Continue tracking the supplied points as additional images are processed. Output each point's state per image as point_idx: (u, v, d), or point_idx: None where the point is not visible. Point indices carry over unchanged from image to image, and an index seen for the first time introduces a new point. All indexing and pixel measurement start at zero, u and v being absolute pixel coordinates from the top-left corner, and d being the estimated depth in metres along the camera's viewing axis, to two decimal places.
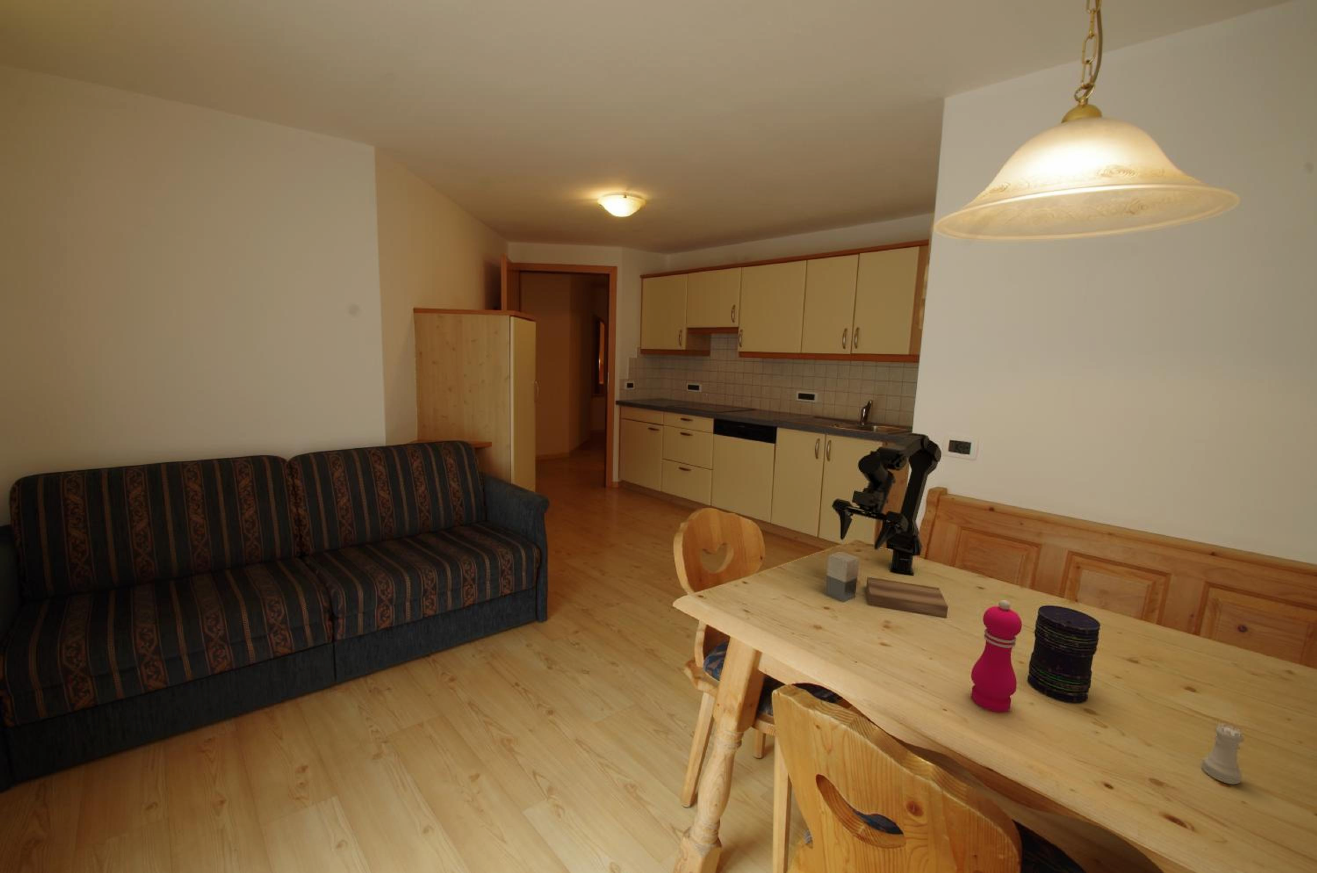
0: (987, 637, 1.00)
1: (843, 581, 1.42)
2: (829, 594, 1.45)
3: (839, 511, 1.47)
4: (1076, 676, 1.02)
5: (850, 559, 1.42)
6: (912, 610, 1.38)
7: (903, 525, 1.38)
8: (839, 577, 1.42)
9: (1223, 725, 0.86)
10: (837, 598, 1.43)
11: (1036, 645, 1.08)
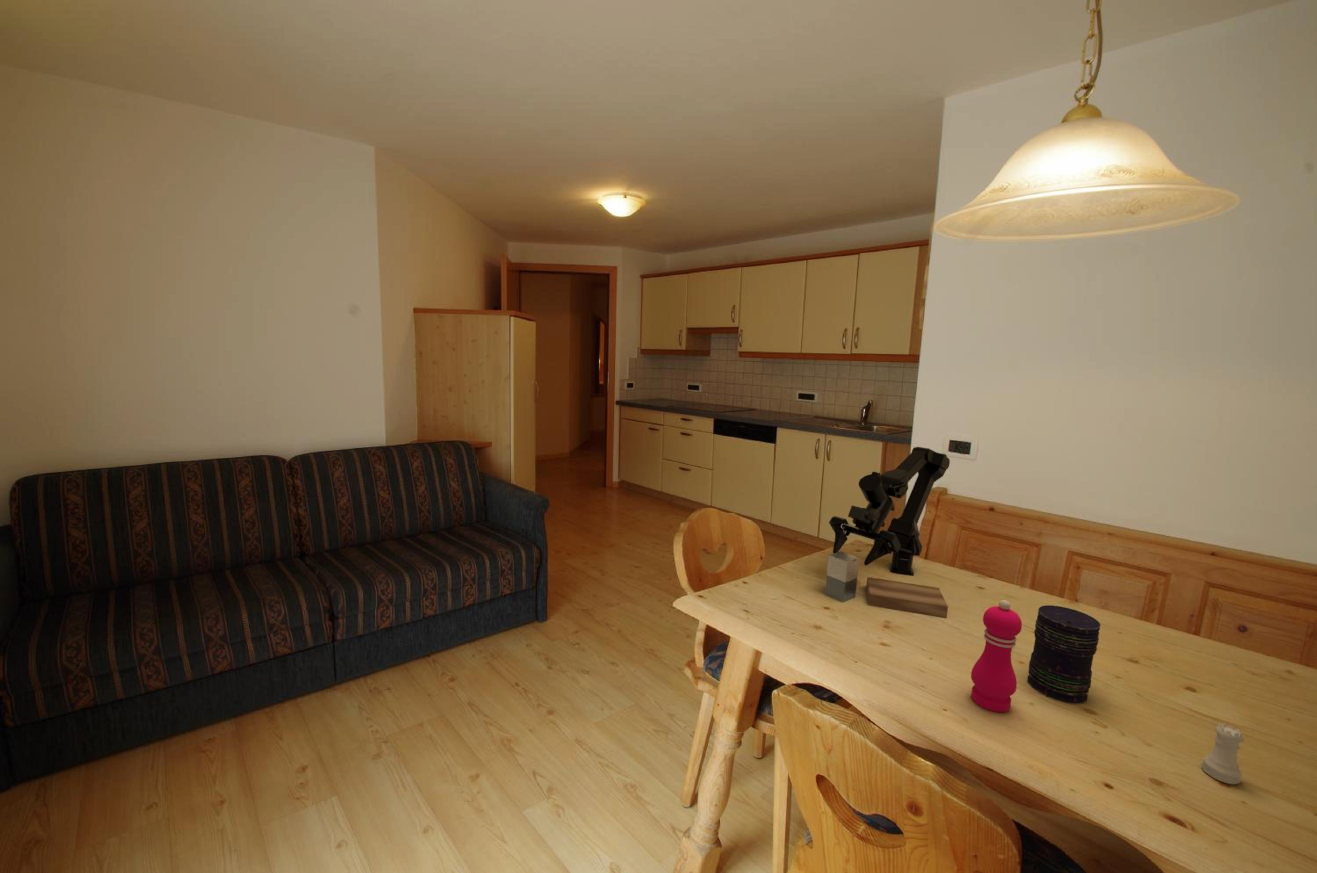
0: (987, 637, 1.00)
1: (843, 581, 1.42)
2: (829, 594, 1.45)
3: (835, 527, 1.52)
4: (1076, 676, 1.02)
5: (850, 559, 1.42)
6: (912, 610, 1.38)
7: (895, 545, 1.41)
8: (839, 577, 1.42)
9: (1223, 725, 0.86)
10: (837, 598, 1.43)
11: (1036, 645, 1.08)
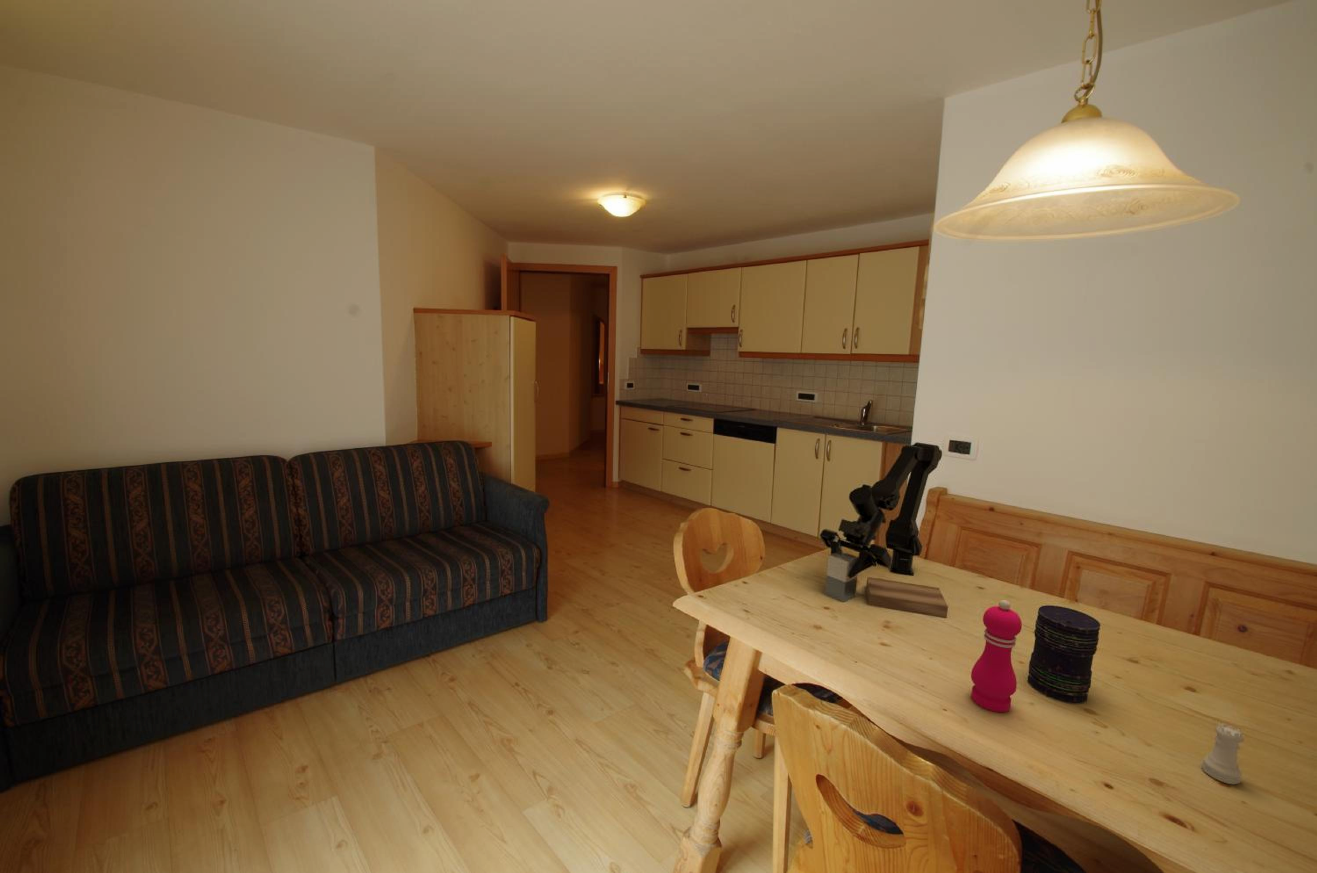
0: (987, 637, 1.00)
1: (843, 581, 1.42)
2: (829, 594, 1.45)
3: (831, 542, 1.48)
4: (1076, 676, 1.02)
5: (850, 559, 1.42)
6: (912, 610, 1.38)
7: (885, 559, 1.39)
8: (839, 577, 1.42)
9: (1223, 725, 0.86)
10: (837, 598, 1.43)
11: (1036, 645, 1.08)
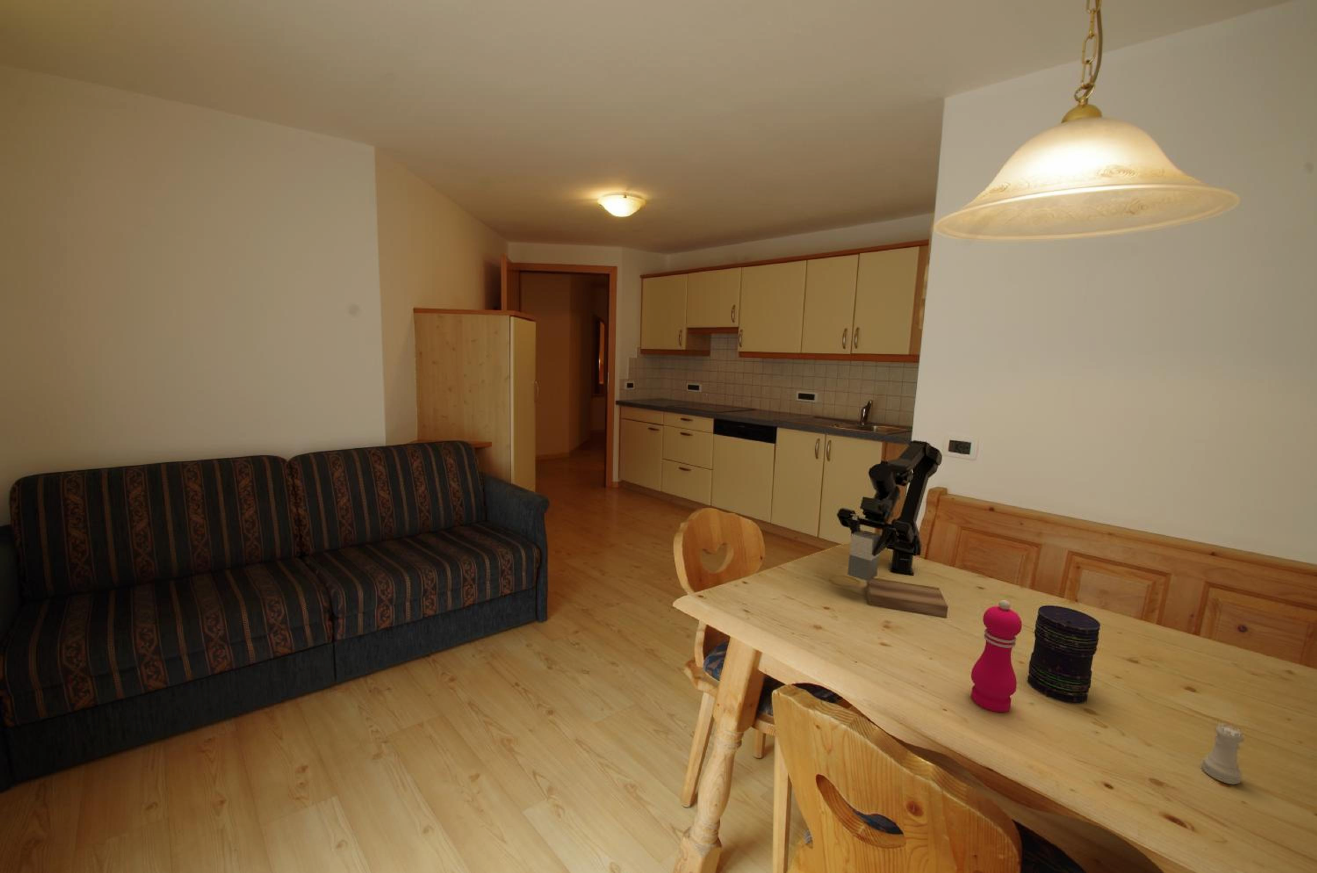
0: (987, 637, 1.00)
1: (868, 559, 1.39)
2: (852, 574, 1.42)
3: (851, 520, 1.45)
4: (1076, 676, 1.02)
5: (874, 537, 1.39)
6: (912, 610, 1.38)
7: (910, 535, 1.38)
8: (863, 556, 1.40)
9: (1223, 725, 0.86)
10: (861, 577, 1.40)
11: (1036, 645, 1.08)
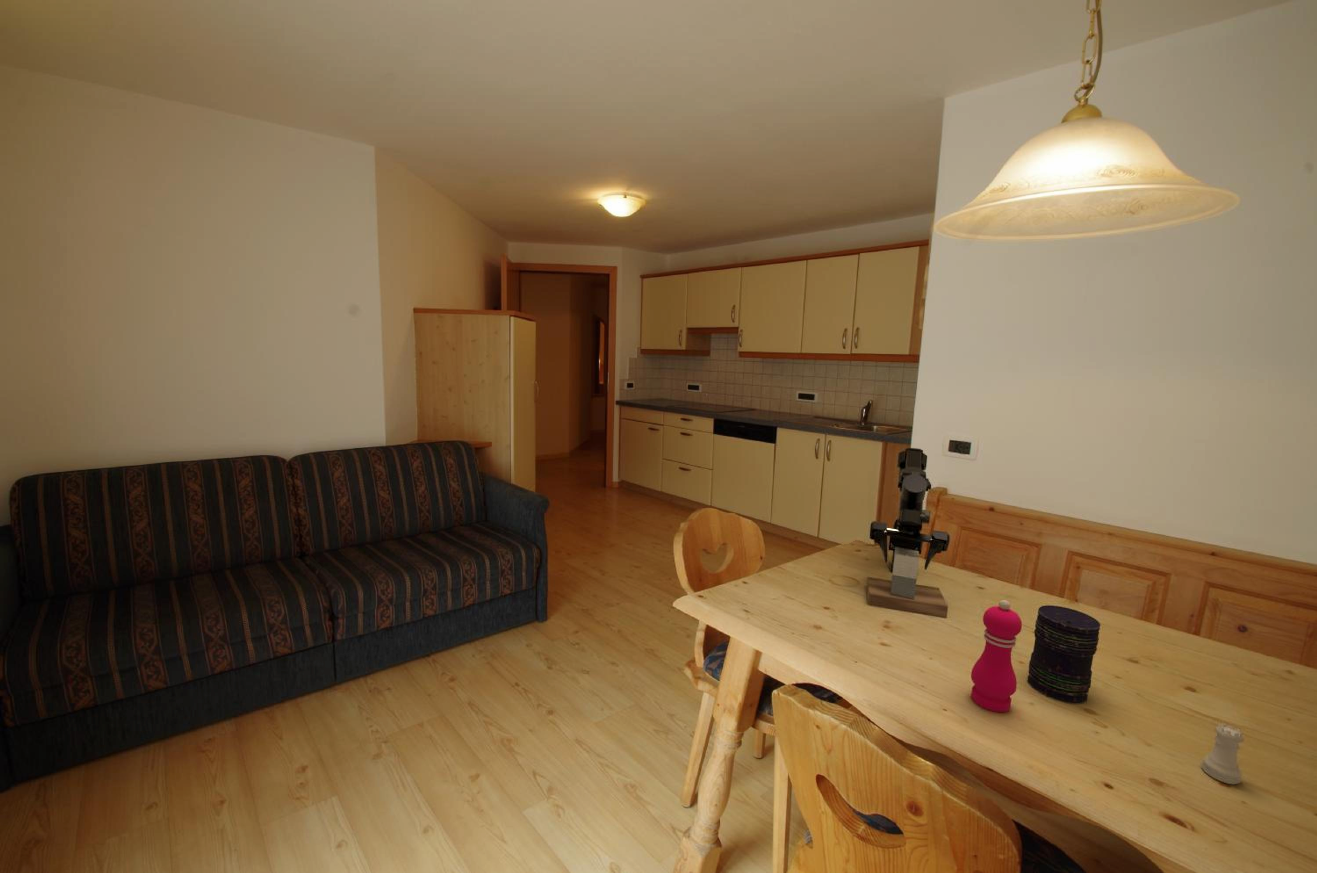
0: (987, 637, 1.00)
1: (914, 578, 1.38)
2: (896, 594, 1.40)
3: (881, 533, 1.44)
4: (1076, 676, 1.02)
5: (916, 555, 1.39)
6: (912, 610, 1.38)
7: None
8: (909, 575, 1.38)
9: (1223, 725, 0.86)
10: (906, 596, 1.39)
11: (1036, 645, 1.08)
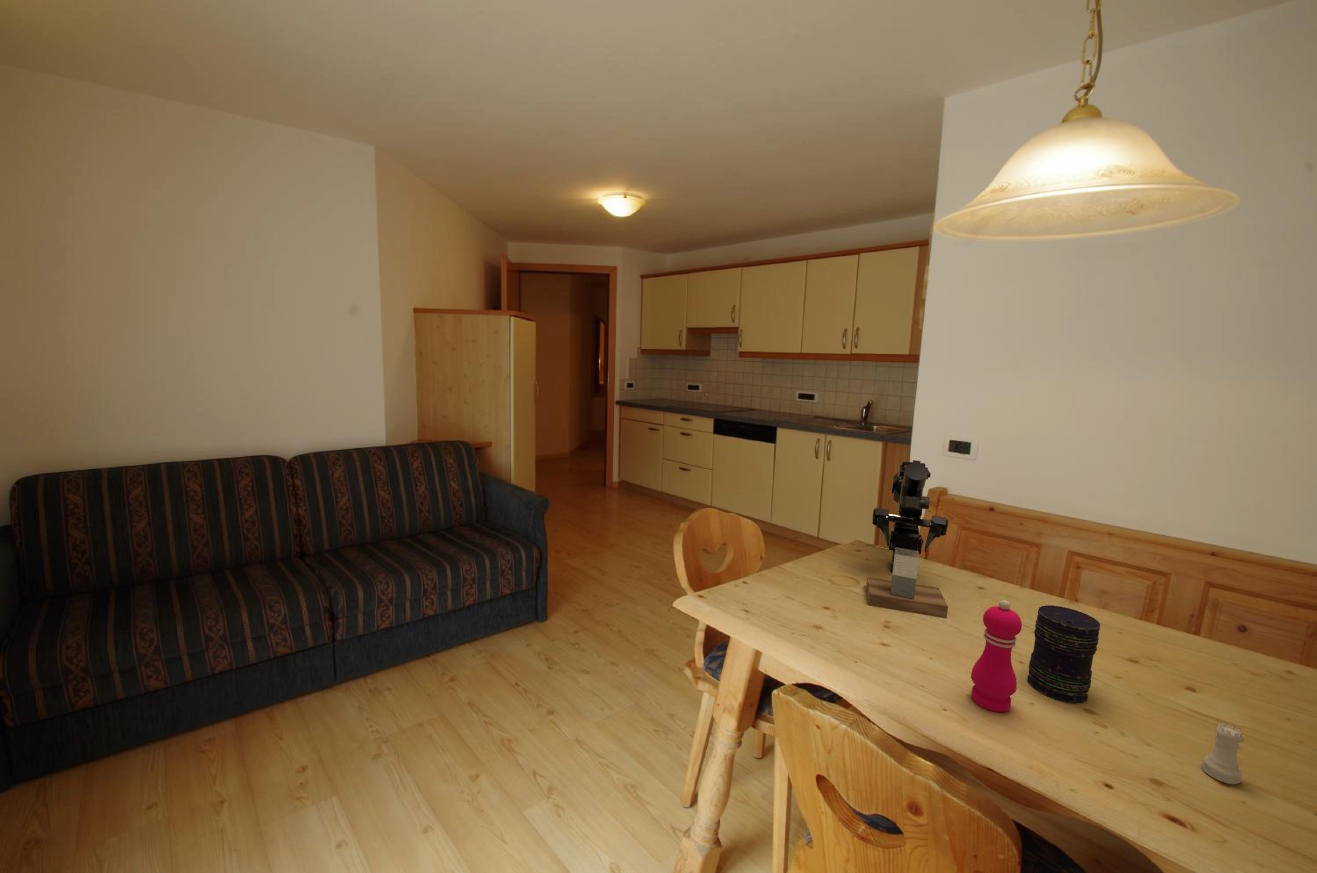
0: (987, 637, 1.00)
1: (914, 578, 1.38)
2: (896, 594, 1.40)
3: (883, 518, 1.52)
4: (1076, 676, 1.02)
5: (916, 555, 1.39)
6: (912, 610, 1.38)
7: (946, 528, 1.48)
8: (909, 575, 1.38)
9: (1223, 725, 0.86)
10: (906, 596, 1.39)
11: (1036, 645, 1.08)
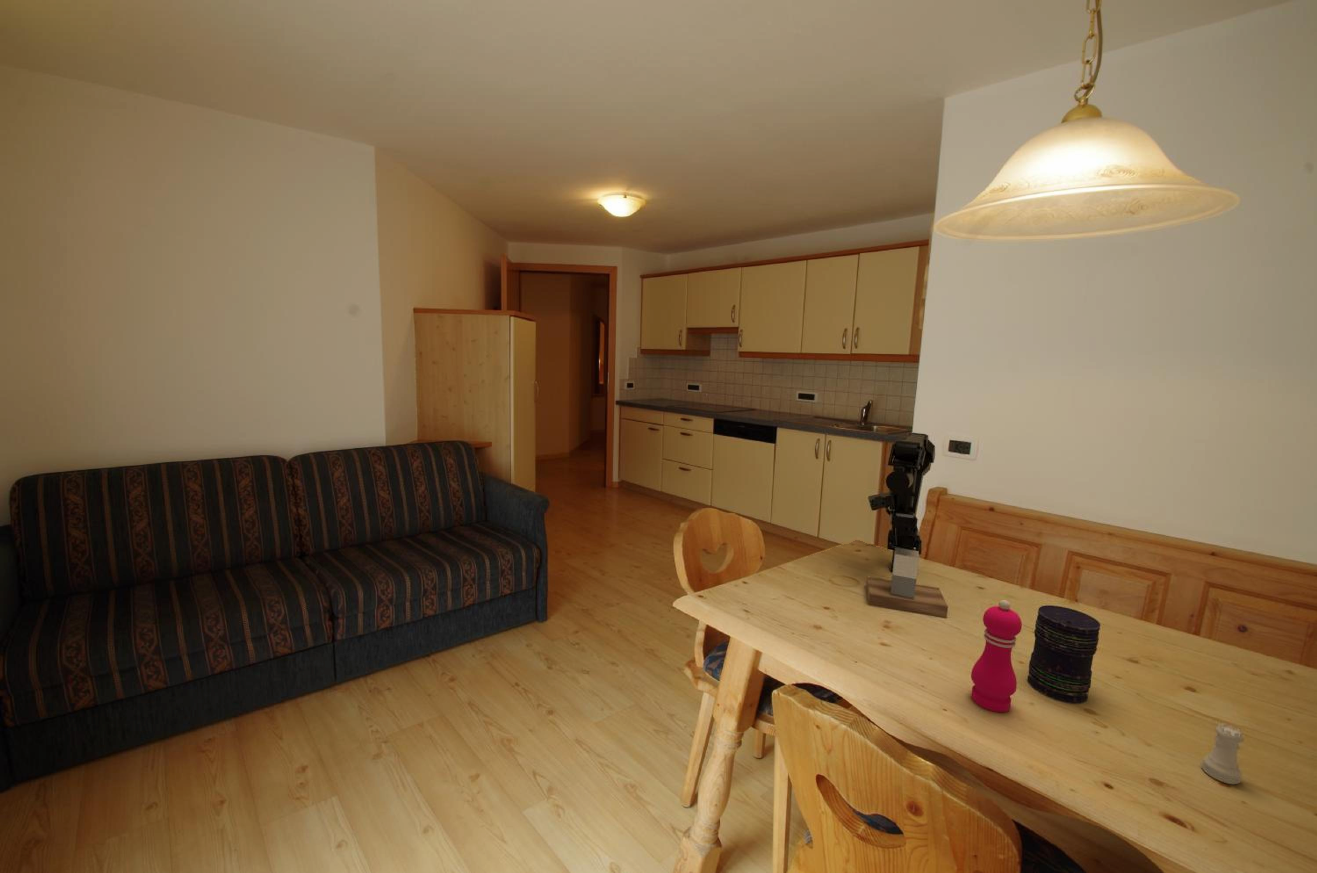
0: (987, 637, 1.00)
1: (914, 578, 1.38)
2: (896, 594, 1.40)
3: None
4: (1076, 676, 1.02)
5: (916, 555, 1.39)
6: (912, 610, 1.38)
7: (902, 523, 1.42)
8: (909, 575, 1.38)
9: (1223, 725, 0.86)
10: (906, 596, 1.39)
11: (1036, 645, 1.08)
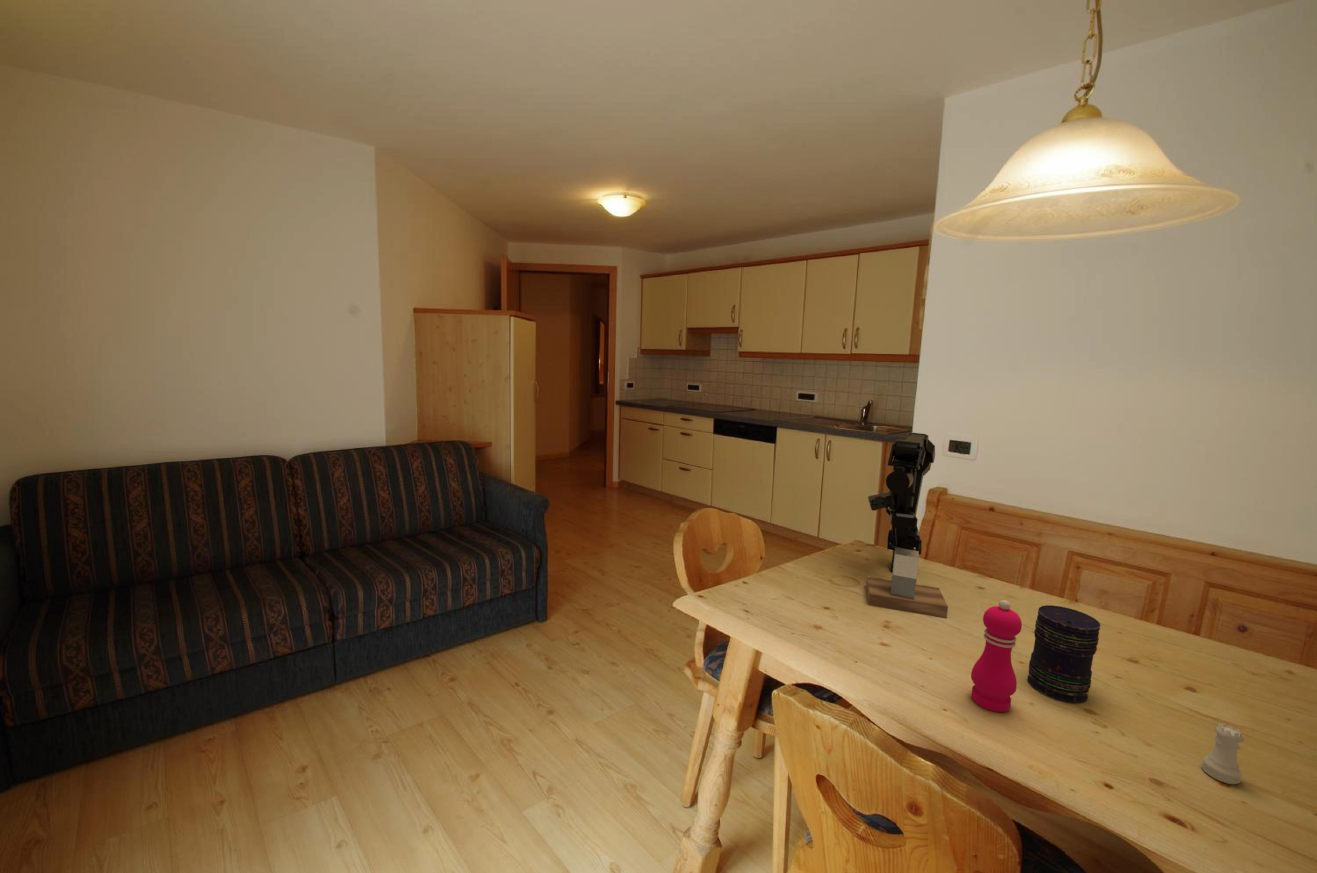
0: (987, 637, 1.00)
1: (914, 578, 1.38)
2: (896, 594, 1.40)
3: None
4: (1076, 676, 1.02)
5: (916, 555, 1.39)
6: (912, 610, 1.38)
7: (902, 523, 1.42)
8: (909, 575, 1.38)
9: (1223, 725, 0.86)
10: (906, 596, 1.39)
11: (1036, 645, 1.08)
